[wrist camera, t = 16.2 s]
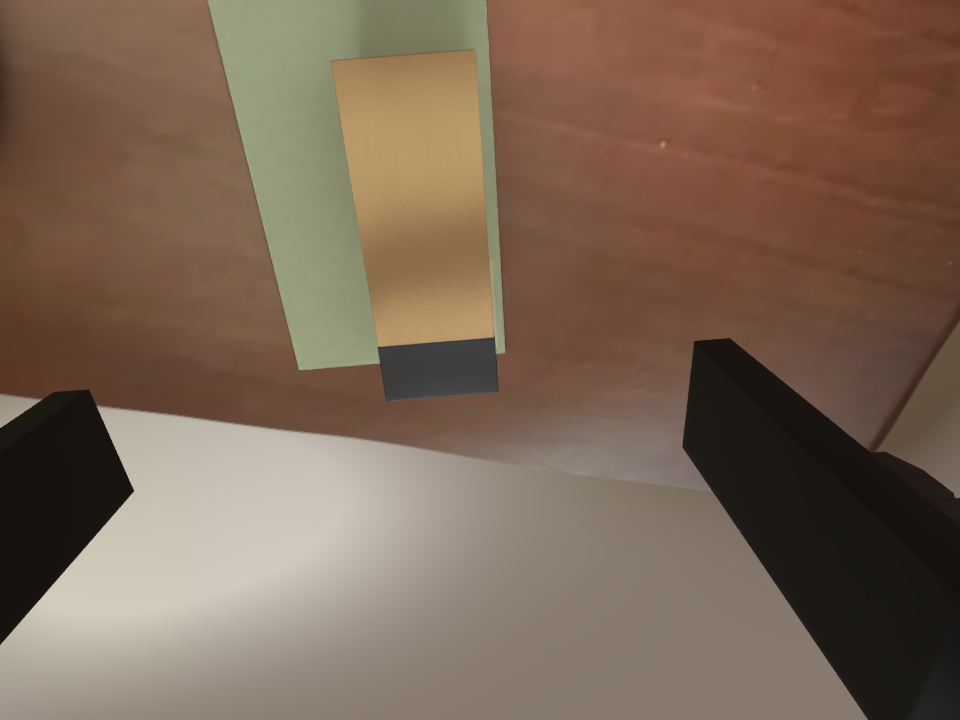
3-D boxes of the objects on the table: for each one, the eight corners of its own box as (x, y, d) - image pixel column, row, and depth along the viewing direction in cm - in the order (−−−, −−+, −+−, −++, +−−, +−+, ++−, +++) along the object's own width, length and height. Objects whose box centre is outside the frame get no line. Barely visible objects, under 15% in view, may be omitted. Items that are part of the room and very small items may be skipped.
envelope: (505, 350, 35) (505, 353, 35) (300, 367, 35) (298, 371, 35) (480, -99, 25) (480, -103, 25) (191, -77, 25) (186, -81, 25)
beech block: (358, 74, 28) (328, 59, 21) (471, 65, 28) (476, 48, 21) (399, 349, 34) (386, 401, 28) (490, 341, 35) (498, 392, 28)
